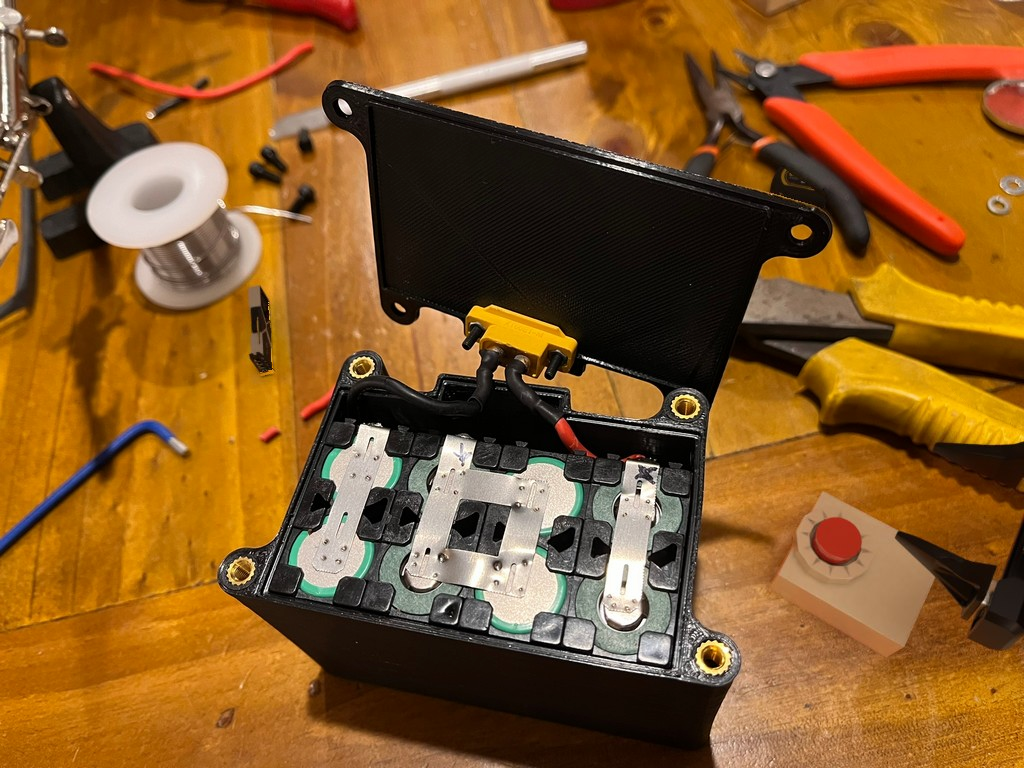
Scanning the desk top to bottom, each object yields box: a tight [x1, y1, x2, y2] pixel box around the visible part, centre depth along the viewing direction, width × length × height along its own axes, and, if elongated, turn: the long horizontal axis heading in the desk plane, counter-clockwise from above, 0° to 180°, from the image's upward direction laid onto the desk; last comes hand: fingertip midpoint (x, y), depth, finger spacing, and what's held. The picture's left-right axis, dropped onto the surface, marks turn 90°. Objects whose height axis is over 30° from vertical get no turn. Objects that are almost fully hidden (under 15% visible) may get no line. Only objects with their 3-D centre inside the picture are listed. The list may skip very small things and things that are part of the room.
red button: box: [812, 517, 862, 564], centre depth 72 cm, size 4×4×2 cm
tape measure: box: [769, 166, 827, 211], centre depth 100 cm, size 7×7×4 cm
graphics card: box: [248, 284, 275, 373], centre depth 98 cm, size 12×3×5 cm, turn 12°
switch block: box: [768, 491, 936, 658], centre depth 74 cm, size 12×10×7 cm
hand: (915, 489), depth 65 cm, fingers open, 9 cm apart
